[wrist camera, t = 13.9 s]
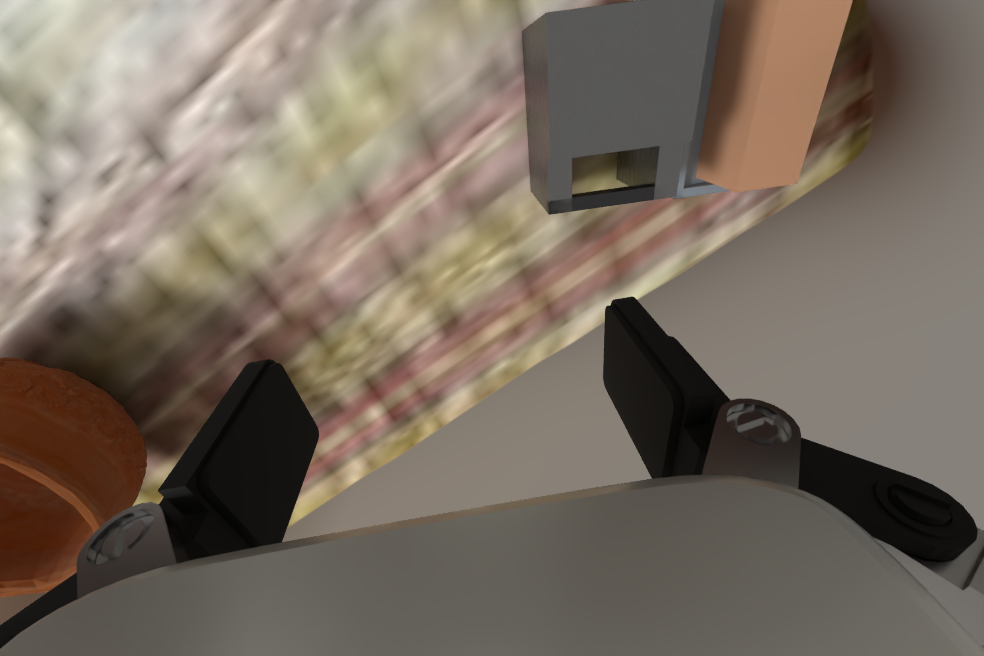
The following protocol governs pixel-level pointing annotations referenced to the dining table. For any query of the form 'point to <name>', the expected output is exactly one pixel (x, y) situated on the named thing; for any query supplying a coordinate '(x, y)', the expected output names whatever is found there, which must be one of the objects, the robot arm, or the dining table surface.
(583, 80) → the dispenser
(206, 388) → the dining table surface
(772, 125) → the tan rectangular block
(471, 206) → the dining table surface
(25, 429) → the bowl
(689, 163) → the tray
